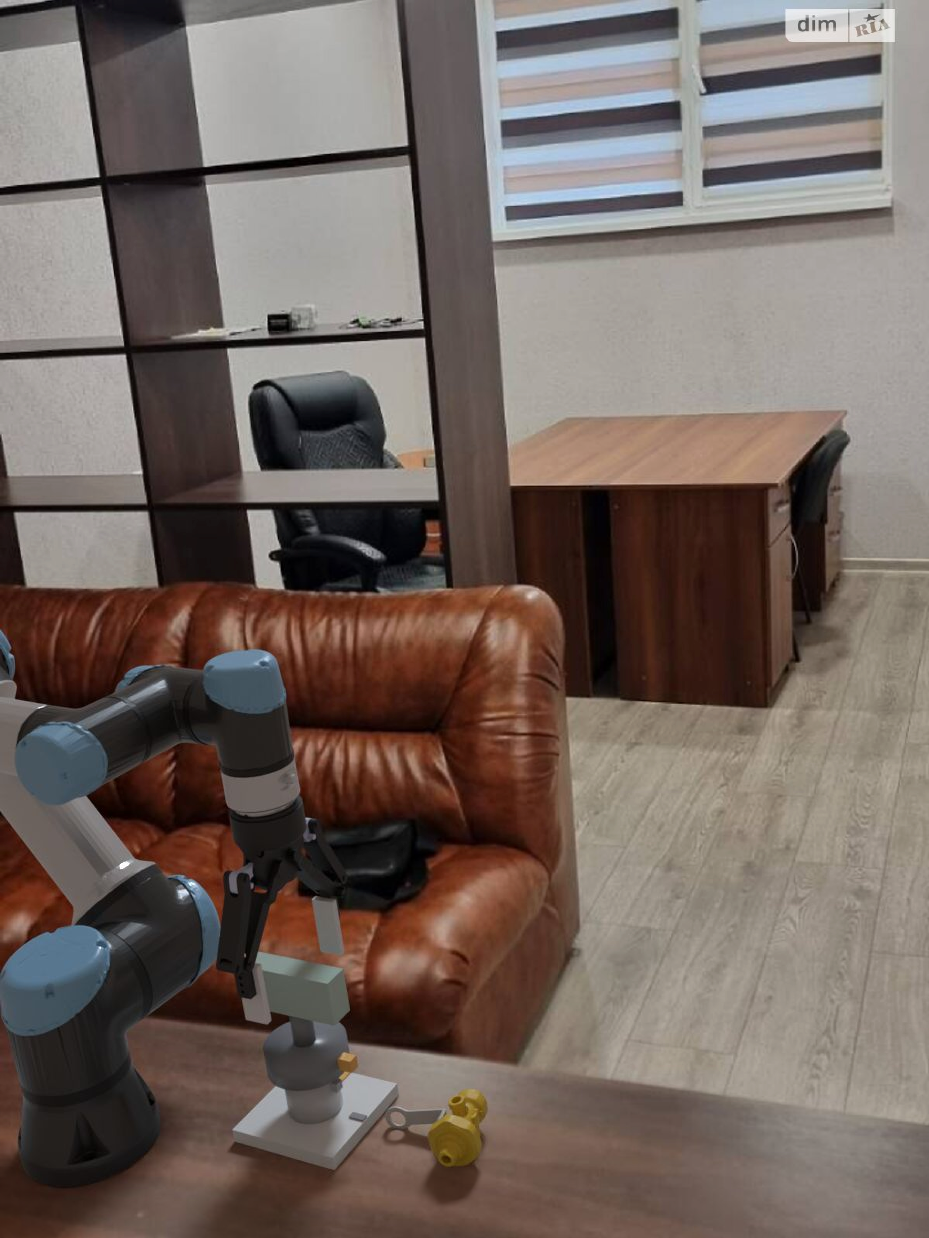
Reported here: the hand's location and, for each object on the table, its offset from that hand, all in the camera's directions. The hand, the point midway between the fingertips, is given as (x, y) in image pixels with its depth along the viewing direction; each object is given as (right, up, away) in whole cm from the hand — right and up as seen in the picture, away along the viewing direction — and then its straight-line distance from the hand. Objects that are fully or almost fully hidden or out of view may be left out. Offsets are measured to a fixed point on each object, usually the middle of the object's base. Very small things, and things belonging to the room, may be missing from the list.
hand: (297, 985), depth 144 cm
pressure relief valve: (+15, -17, -1) cm, 22 cm away
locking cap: (+1, -9, +3) cm, 10 cm away
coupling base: (+2, -16, +5) cm, 17 cm away
